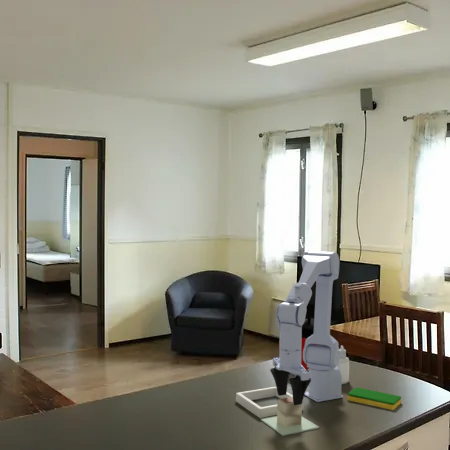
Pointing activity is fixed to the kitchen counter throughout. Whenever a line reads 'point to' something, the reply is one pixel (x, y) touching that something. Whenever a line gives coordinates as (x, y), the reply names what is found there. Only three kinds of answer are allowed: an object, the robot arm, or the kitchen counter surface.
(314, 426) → the pad
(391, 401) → the dish sponge
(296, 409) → the birch block
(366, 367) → the kitchen counter surface
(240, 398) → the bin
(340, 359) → the eye dropper bottle
